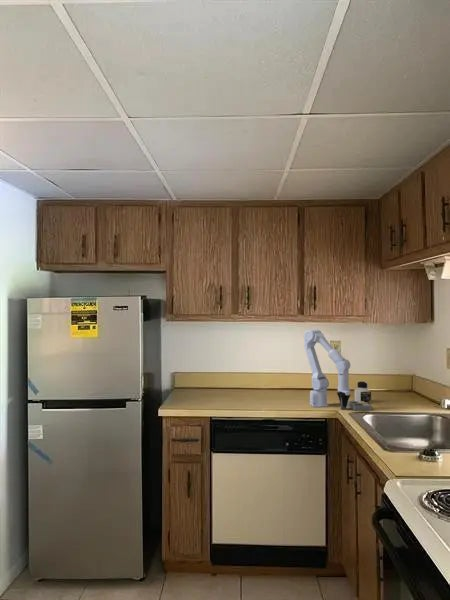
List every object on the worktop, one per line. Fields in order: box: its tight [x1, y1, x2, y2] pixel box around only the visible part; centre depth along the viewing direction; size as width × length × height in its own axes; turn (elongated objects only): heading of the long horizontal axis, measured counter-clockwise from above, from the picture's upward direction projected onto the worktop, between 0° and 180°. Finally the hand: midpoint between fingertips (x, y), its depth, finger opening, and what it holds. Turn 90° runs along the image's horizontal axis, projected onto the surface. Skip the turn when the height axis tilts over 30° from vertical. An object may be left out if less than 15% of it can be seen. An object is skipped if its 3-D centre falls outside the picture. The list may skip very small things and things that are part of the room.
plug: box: [340, 400, 347, 411], centre depth 273 cm, size 3×3×7 cm
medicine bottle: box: [354, 381, 372, 404], centre depth 293 cm, size 7×7×12 cm
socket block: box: [346, 400, 373, 412], centre depth 276 cm, size 10×13×3 cm
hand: (343, 405), depth 273 cm, fingers closed on plug, 3 cm apart
